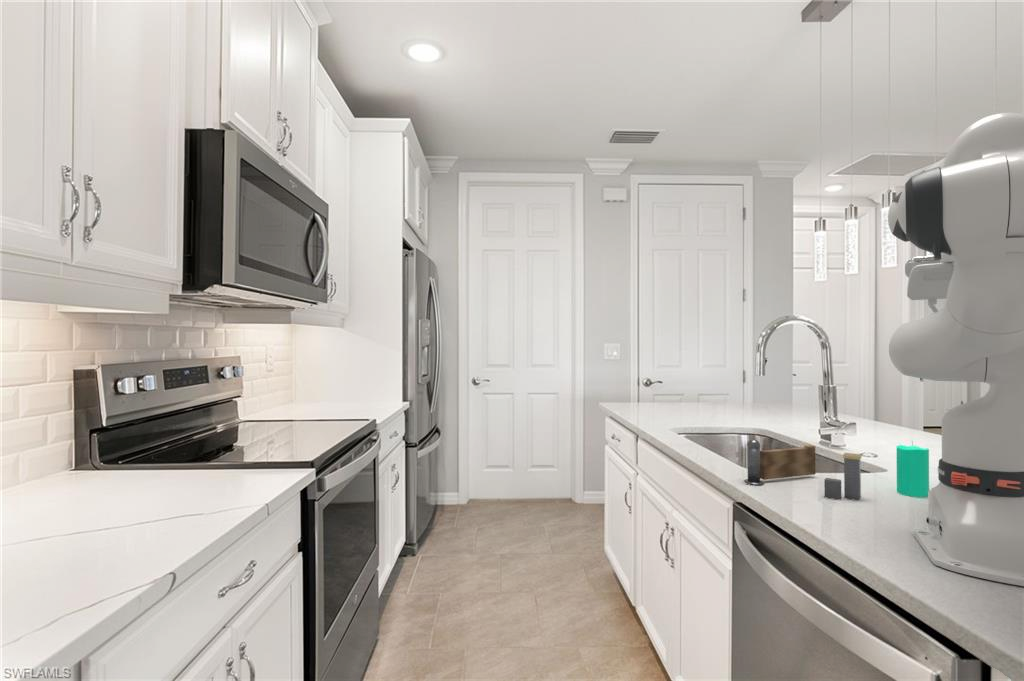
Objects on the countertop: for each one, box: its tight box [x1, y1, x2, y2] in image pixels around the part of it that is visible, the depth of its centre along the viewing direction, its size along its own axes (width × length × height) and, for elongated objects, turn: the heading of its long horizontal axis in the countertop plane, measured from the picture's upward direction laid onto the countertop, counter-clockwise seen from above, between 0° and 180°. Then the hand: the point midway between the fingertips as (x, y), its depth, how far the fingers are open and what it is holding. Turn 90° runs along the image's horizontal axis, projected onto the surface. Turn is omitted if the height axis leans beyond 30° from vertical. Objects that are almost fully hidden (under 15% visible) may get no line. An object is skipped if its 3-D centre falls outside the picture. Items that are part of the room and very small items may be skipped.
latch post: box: [823, 452, 862, 501], centre depth 118 cm, size 5×7×10 cm
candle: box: [896, 440, 930, 498], centre depth 121 cm, size 6×6×12 cm
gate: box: [760, 444, 817, 481], centre depth 133 cm, size 16×2×7 cm, turn 107°
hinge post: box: [743, 438, 765, 487], centre depth 130 cm, size 4×4×11 cm
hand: (969, 319), depth 108 cm, fingers open, 8 cm apart
